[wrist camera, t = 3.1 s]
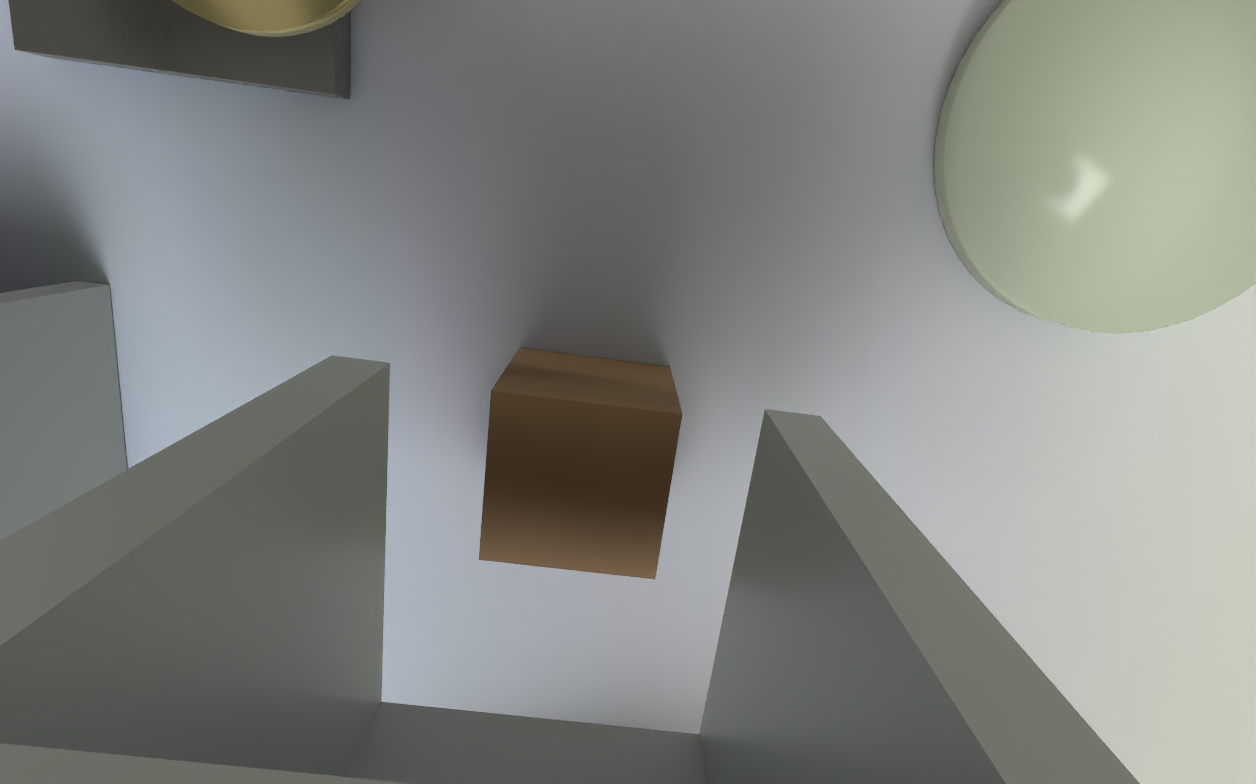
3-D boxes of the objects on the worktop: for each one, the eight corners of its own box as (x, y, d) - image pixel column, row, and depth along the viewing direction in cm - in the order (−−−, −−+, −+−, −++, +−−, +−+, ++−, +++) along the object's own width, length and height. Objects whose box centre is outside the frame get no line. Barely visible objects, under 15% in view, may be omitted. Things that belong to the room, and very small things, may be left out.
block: (648, 500, 19) (655, 579, 15) (509, 483, 19) (478, 559, 15) (669, 365, 18) (681, 413, 14) (520, 347, 17) (491, 391, 14)
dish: (1226, 344, 17) (1269, 355, 16) (894, 300, 17) (913, 308, 16) (1381, -44, 15) (1445, -64, 14) (994, -106, 14) (1026, -132, 13)
